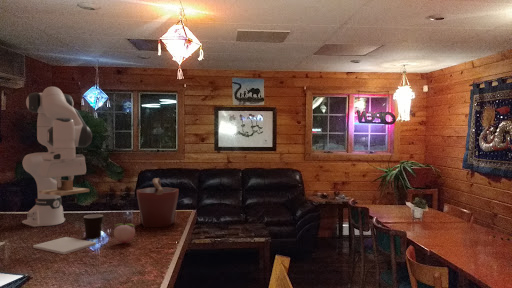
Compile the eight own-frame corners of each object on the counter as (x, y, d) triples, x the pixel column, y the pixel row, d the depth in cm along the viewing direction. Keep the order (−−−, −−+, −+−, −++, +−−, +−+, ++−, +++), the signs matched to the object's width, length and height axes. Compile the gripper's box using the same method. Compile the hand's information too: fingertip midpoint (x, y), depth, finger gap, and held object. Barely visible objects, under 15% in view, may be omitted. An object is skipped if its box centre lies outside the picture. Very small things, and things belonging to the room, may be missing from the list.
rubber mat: (33, 247, 169) (33, 245, 169) (65, 238, 183) (65, 236, 183) (63, 254, 159) (63, 252, 159) (96, 244, 174) (96, 242, 174)
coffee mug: (96, 239, 181) (96, 218, 181) (79, 238, 183) (79, 217, 183) (110, 233, 193) (110, 213, 193) (94, 232, 195) (94, 212, 194)
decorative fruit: (112, 247, 170) (112, 224, 170) (114, 242, 178) (114, 220, 178) (135, 245, 173) (135, 223, 172) (135, 240, 181) (135, 219, 180)
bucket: (170, 229, 202) (170, 181, 201) (128, 228, 203) (128, 180, 202) (181, 219, 227) (181, 176, 226) (143, 218, 227) (143, 175, 227)
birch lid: (39, 193, 167) (39, 181, 167) (68, 189, 180) (68, 178, 180) (61, 195, 161) (61, 183, 161) (89, 191, 174) (89, 179, 173)
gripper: (79, 153, 181) (80, 183, 181) (37, 155, 163) (38, 188, 163) (89, 154, 178) (89, 184, 178) (47, 156, 160) (48, 189, 160)
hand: (64, 186), depth 170 cm, fingers closed on birch lid, 3 cm apart
